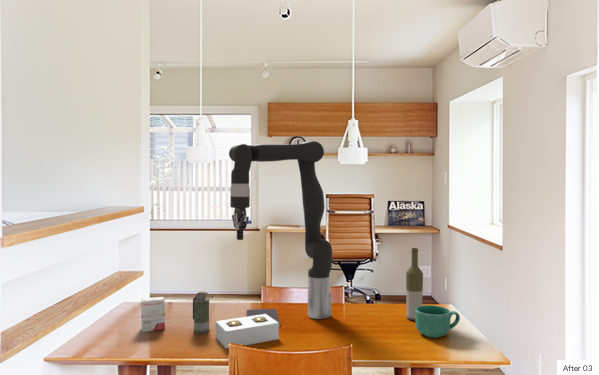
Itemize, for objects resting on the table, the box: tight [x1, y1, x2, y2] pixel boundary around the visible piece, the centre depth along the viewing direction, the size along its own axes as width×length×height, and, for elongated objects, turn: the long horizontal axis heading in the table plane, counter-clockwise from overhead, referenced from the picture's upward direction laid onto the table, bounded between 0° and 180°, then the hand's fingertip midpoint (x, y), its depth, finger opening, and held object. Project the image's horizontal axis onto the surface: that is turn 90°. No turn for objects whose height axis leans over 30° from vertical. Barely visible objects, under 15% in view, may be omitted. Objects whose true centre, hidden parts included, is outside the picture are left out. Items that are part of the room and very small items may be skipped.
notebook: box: [246, 308, 281, 327], centre depth 179 cm, size 13×2×21 cm
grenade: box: [192, 291, 210, 335], centre depth 163 cm, size 6×6×15 cm
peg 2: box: [254, 317, 266, 323], centre depth 159 cm, size 5×5×6 cm
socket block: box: [215, 314, 280, 349], centre depth 156 cm, size 20×12×6 cm, turn 118°
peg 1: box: [228, 320, 241, 327], centre depth 154 cm, size 5×5×6 cm
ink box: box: [140, 296, 166, 333], centre depth 166 cm, size 9×5×12 cm, turn 110°
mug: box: [414, 304, 461, 339], centre depth 162 cm, size 17×13×10 cm
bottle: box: [405, 247, 424, 322], centre depth 180 cm, size 7×7×30 cm
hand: (239, 239), depth 166 cm, fingers closed
